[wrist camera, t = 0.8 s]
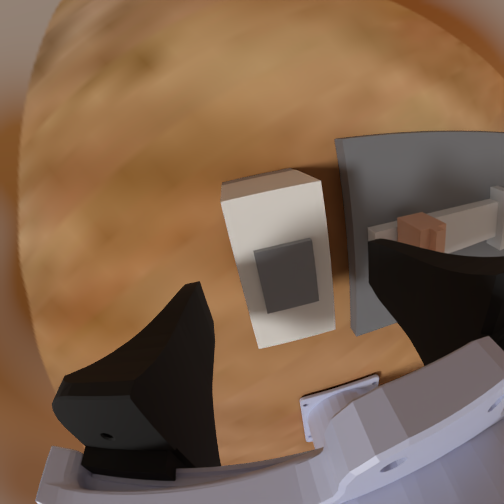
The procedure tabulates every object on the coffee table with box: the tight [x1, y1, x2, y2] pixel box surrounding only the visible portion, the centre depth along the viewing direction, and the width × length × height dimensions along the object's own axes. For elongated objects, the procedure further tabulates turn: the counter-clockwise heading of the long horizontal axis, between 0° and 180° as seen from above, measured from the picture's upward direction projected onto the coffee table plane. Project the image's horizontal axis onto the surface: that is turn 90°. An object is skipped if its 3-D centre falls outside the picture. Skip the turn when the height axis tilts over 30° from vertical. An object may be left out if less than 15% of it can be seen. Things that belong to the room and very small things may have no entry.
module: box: [221, 168, 335, 349], centre depth 14 cm, size 8×4×6 cm, turn 12°
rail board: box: [335, 131, 504, 336], centre depth 17 cm, size 14×20×3 cm
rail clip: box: [397, 212, 446, 253], centre depth 14 cm, size 4×2×3 cm, turn 12°
